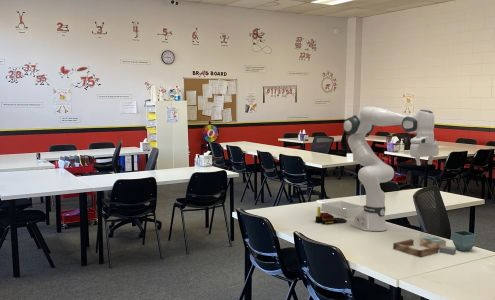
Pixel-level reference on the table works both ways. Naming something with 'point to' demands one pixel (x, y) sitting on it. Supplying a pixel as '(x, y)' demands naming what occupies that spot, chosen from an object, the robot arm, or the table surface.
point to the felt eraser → (447, 250)
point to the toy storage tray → (338, 208)
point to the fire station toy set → (328, 218)
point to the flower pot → (463, 240)
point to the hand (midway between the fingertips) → (424, 164)
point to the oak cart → (432, 242)
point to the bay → (420, 253)
